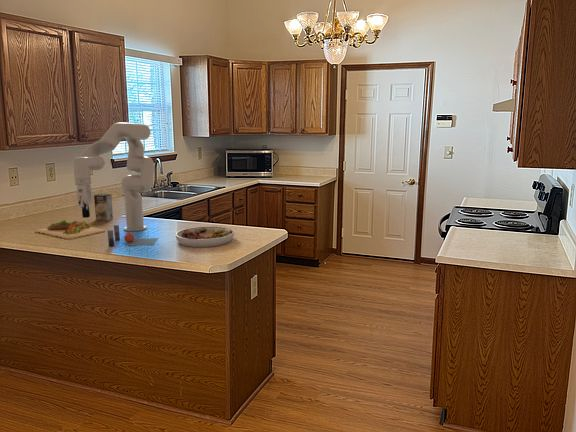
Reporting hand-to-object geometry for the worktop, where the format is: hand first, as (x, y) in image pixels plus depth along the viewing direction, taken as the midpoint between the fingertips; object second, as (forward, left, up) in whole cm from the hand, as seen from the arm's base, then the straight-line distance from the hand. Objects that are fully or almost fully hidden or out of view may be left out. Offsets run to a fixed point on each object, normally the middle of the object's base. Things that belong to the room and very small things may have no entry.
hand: (86, 217), depth 253 cm
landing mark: (0, +27, -14) cm, 30 cm away
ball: (0, +21, -12) cm, 24 cm away
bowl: (+2, +60, -15) cm, 62 cm away
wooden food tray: (-30, -19, -15) cm, 39 cm away
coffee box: (-64, -9, -14) cm, 66 cm away
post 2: (-6, +13, -14) cm, 20 cm away
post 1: (+6, +13, -14) cm, 20 cm away
